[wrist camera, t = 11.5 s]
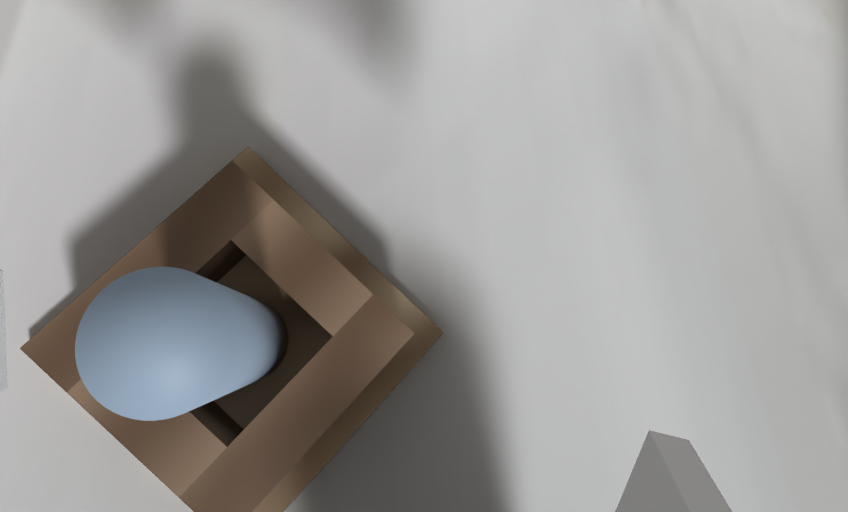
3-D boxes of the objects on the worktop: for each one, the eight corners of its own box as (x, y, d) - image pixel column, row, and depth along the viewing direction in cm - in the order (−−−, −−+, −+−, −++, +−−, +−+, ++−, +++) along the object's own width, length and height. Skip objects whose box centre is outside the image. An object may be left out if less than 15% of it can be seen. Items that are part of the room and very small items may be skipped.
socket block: (440, 332, 28) (461, 331, 23) (245, 550, 25) (224, 599, 20) (250, 151, 28) (233, 114, 23) (30, 348, 25) (-43, 350, 20)
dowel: (305, 338, 26) (268, 337, 14) (246, 400, 25) (153, 454, 13) (246, 283, 26) (161, 236, 14) (185, 343, 25) (39, 346, 13)
